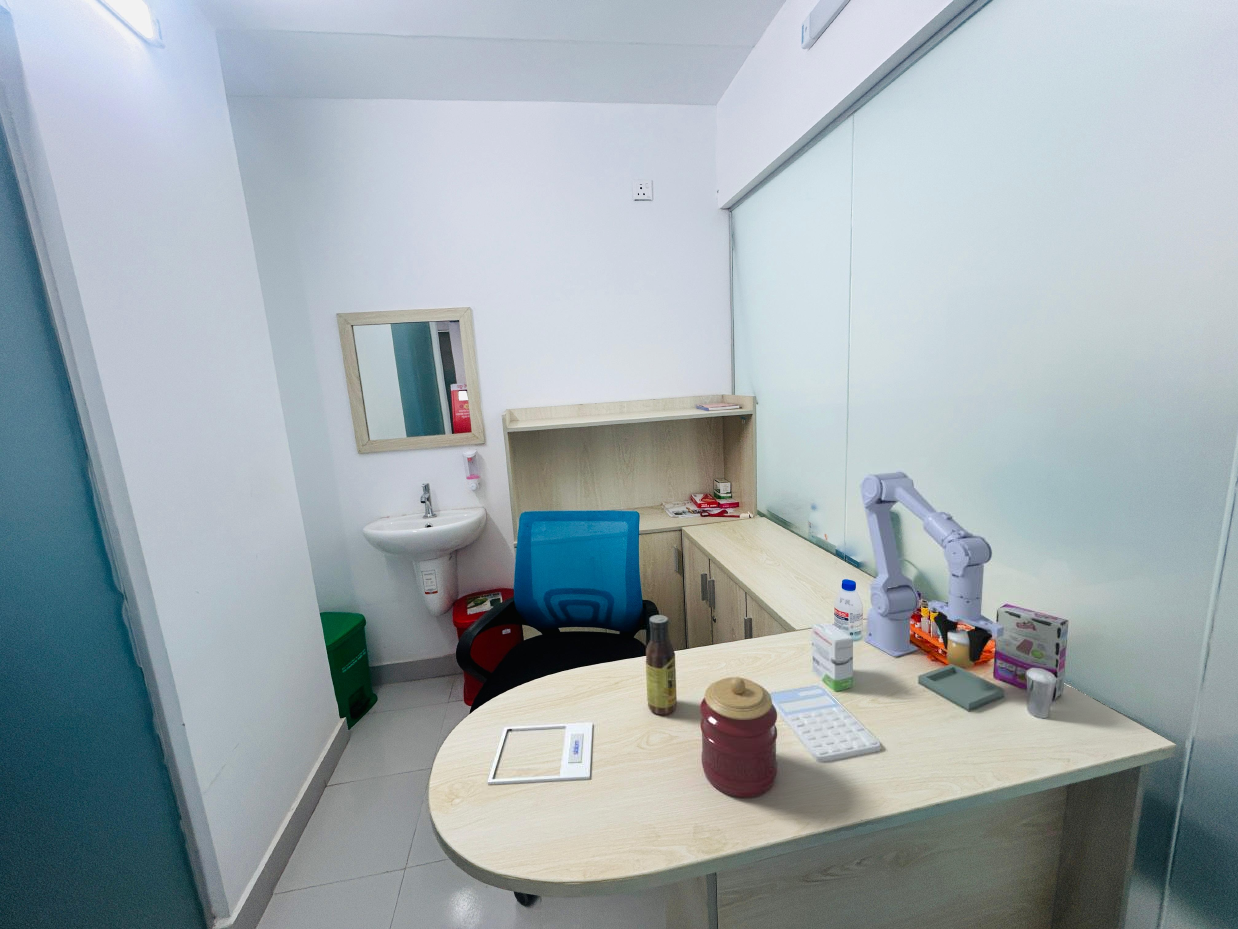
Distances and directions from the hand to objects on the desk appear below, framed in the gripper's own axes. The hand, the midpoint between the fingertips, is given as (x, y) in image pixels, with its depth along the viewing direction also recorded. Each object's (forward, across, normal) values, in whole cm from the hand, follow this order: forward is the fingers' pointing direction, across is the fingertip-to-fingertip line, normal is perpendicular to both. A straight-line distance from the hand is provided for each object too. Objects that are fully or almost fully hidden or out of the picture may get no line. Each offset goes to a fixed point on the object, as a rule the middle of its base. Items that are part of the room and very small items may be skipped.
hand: (961, 654), depth 107 cm
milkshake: (+8, +12, +6) cm, 16 cm away
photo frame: (+9, -21, -86) cm, 89 cm away
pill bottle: (+2, 0, 0) cm, 2 cm away
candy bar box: (+8, +5, +14) cm, 17 cm away
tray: (+8, 0, 0) cm, 8 cm away
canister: (+8, -1, -56) cm, 57 cm away
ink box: (+8, -15, -21) cm, 27 cm away
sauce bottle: (+8, -23, -60) cm, 65 cm away
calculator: (+9, -5, -34) cm, 36 cm away
